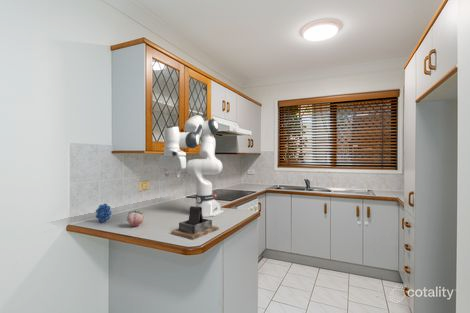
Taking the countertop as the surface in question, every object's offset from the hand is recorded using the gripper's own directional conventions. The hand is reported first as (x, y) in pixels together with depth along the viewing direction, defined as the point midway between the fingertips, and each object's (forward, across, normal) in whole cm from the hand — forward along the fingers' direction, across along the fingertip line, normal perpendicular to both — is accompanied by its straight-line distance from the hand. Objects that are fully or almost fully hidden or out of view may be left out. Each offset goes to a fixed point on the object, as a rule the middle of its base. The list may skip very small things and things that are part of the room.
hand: (172, 176), depth 142 cm
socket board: (+29, +18, +1) cm, 34 cm away
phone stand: (+28, +18, +1) cm, 33 cm away
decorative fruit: (+29, -18, -12) cm, 36 cm away
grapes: (+29, -42, -18) cm, 54 cm away
